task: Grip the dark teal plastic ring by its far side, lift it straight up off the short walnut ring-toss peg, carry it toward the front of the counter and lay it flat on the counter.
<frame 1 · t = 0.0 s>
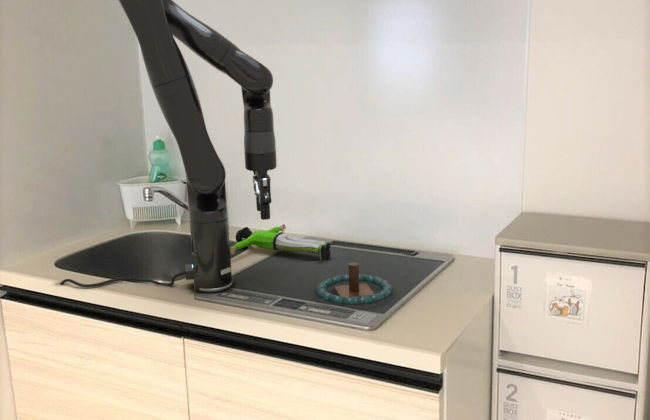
hand: (263, 214, 168), 17 cm above the cooktop, tool pointing down, fingers open, 8 cm apart
ring: (354, 290, 161), point 1 cm above the cooktop
ring toss: (354, 295, 161), on the cooktop
figurine: (281, 254, 194), on the cooktop
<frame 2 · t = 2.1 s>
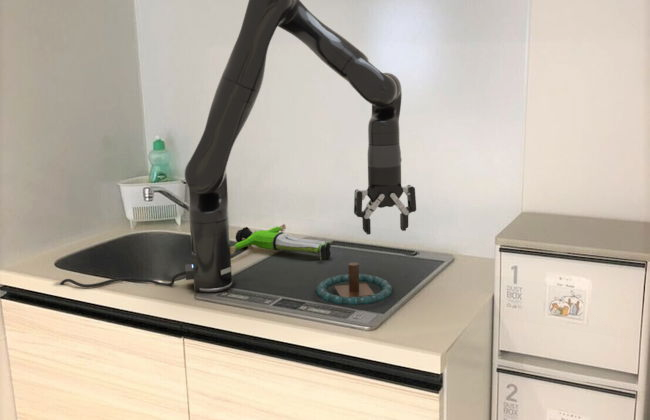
hand: (385, 231, 159), 15 cm above the cooktop, tool pointing down, fingers open, 8 cm apart
nothing on the cooktop moved.
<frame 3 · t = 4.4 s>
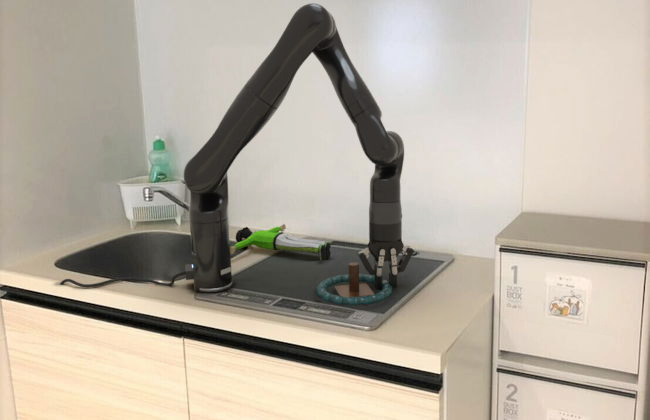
hand: (385, 289, 163), 1 cm above the cooktop, tool pointing down, fingers closed on ring, 2 cm apart
ring: (354, 290, 161), point 1 cm above the cooktop, touching gripper
everything else where it was.
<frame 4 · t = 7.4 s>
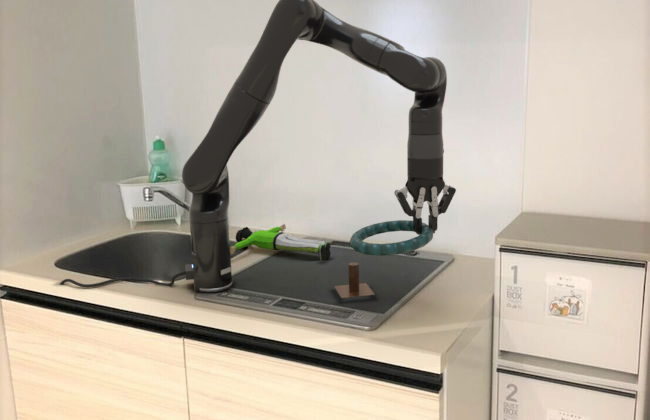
hand: (425, 232, 149), 17 cm above the cooktop, tool pointing down, fingers closed on ring, 2 cm apart
ring: (391, 237, 147), point 17 cm above the cooktop, tilted 7°, touching gripper
everything else where it was.
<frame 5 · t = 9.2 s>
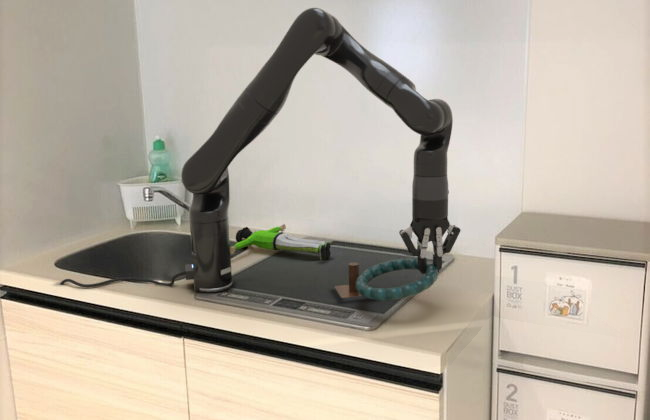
hand: (429, 272, 149), 9 cm above the cooktop, tool pointing down, fingers closed on ring, 2 cm apart
ring: (396, 278, 148), point 8 cm above the cooktop, tilted 11°, touching gripper
everything else where it was.
when the fingers open (2 cm above the cooktop, at t = 10.8 s): ring stays where it is, point 1 cm above the cooktop.
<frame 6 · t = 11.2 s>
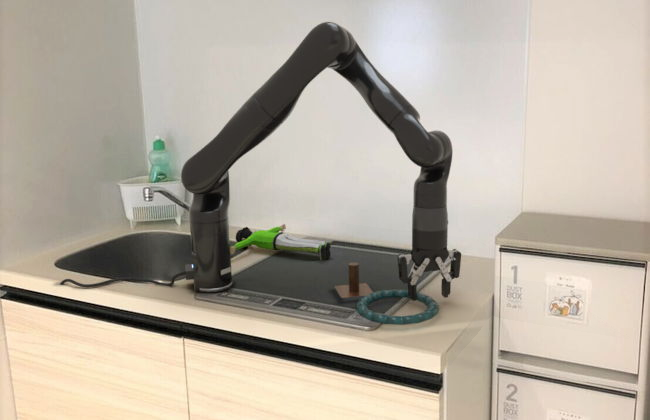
hand: (429, 297, 151), 3 cm above the cooktop, tool pointing down, fingers open, 6 cm apart
ring: (397, 307, 150), point 1 cm above the cooktop
everything else where it was.
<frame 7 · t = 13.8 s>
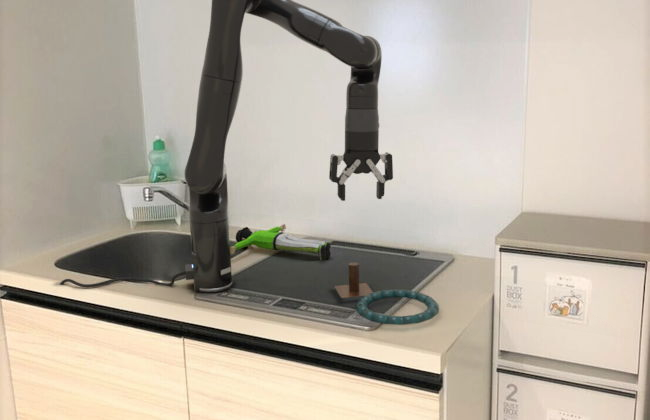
hand: (360, 199, 156), 23 cm above the cooktop, tool pointing down, fingers open, 8 cm apart
nothing on the cooktop moved.
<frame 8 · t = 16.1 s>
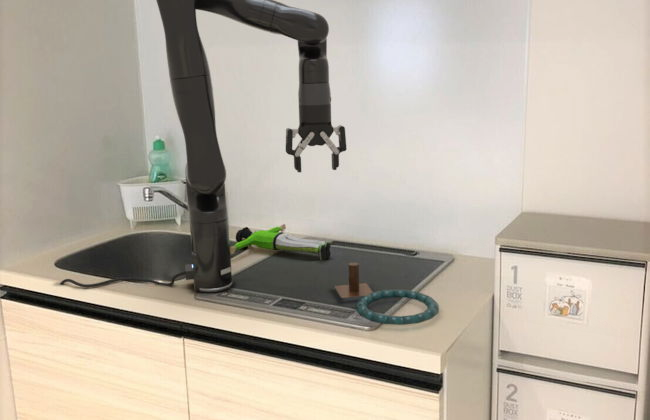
hand: (316, 170, 164), 28 cm above the cooktop, tool pointing down, fingers open, 8 cm apart
nothing on the cooktop moved.
at the end: ring inside the target area (0.4 cm from its centre), point 1.2 cm above the cooktop; the gripper is holding nothing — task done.
